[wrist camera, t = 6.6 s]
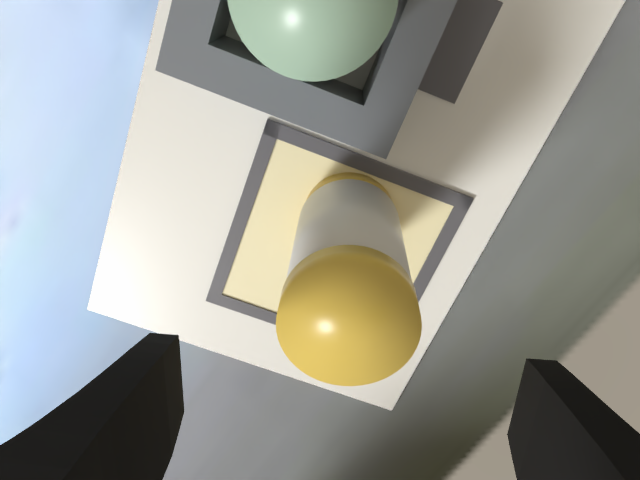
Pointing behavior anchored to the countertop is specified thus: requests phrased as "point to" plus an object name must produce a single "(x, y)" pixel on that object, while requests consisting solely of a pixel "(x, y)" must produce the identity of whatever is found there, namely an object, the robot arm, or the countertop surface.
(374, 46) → the button
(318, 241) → the two-tone rounded cylinder
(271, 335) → the board
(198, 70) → the button housing
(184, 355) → the countertop surface
